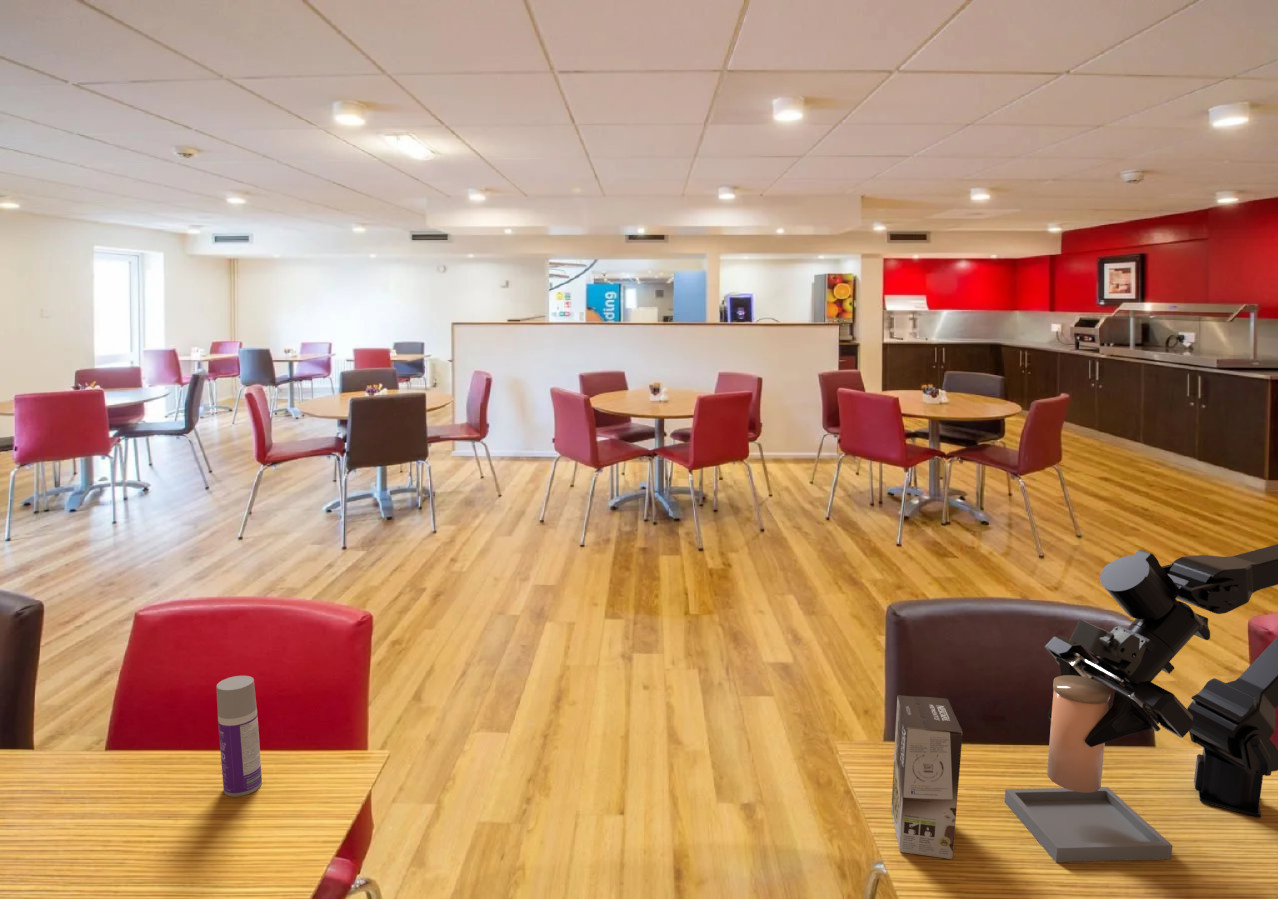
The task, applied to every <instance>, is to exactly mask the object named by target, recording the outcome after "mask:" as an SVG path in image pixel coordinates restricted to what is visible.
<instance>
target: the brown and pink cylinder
mask: <svg viewBox="0 0 1278 899" xmlns="http://www.w3.org/2000/svg"><path fill="white" fill-rule="evenodd" d="M1052 682H1053V683H1052V684H1053V685H1052V689H1053V694H1052V696H1053V697H1052V702H1053V705H1052V704H1051V705H1052V717H1051V719H1050V731H1049V733H1050V734H1049V745H1048V756H1047V758H1048V759H1047V769H1046V775H1047V777H1048V778H1049V780H1050V781H1051V782H1052V783H1055V784H1056V785H1058V786H1059V787H1060V788H1066V789H1069V790H1072V791H1076V792H1084V793H1089V792H1095V791H1097V790H1099V789H1100V787H1102V778H1103V777H1102V776H1103V767H1104V758H1105V757H1104V755H1105V745H1106V744H1105V743H1106V742H1105V743H1102V744H1099V745H1096V746H1093V747H1090V746H1088V745H1087V744H1086V743H1085V739H1086V737H1087V736H1088V735H1089V733H1090V732H1091V730H1092V729H1093V728H1094V727H1095V726H1096V725H1097V723H1098V722H1099V721H1100V720H1101V719H1102V718H1103V716H1104V715H1105V714H1106V713H1107V712H1108V711H1109V702H1110V699H1111V689H1110V688H1109V686H1108V685H1106V684H1104V683H1103V682H1101V681H1099V680H1097V679H1096V680H1095V679H1090V678H1086V677H1081V676H1074V675H1063V676H1061V675H1060V676H1056V677H1054V679H1053V681H1052Z"/></svg>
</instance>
